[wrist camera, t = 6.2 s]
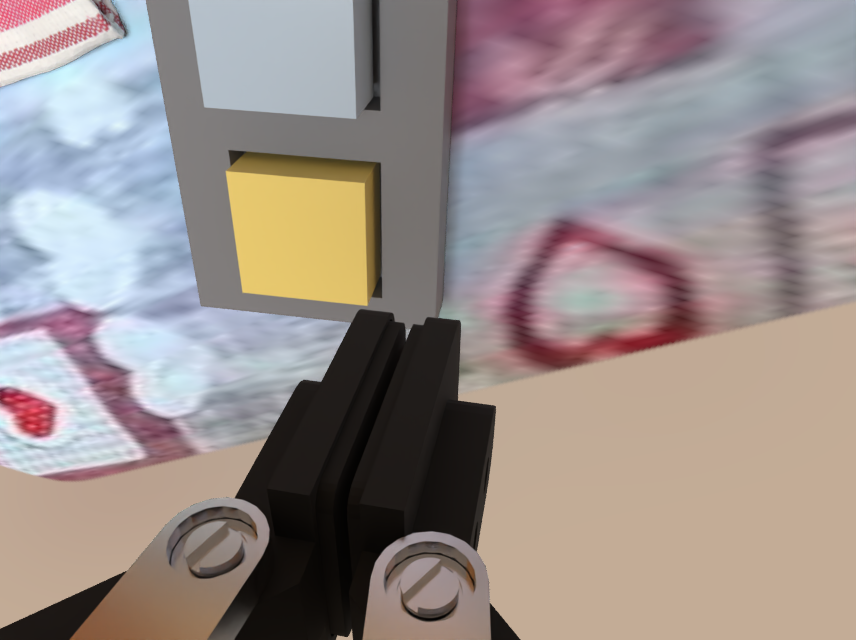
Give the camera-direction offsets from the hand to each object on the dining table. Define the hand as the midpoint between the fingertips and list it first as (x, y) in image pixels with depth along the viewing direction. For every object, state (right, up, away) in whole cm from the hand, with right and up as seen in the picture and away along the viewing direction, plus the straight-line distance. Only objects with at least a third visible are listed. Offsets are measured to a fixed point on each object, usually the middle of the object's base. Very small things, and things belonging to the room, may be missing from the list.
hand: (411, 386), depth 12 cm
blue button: (-5, +13, +16) cm, 21 cm away
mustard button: (-5, +6, +21) cm, 23 cm away
